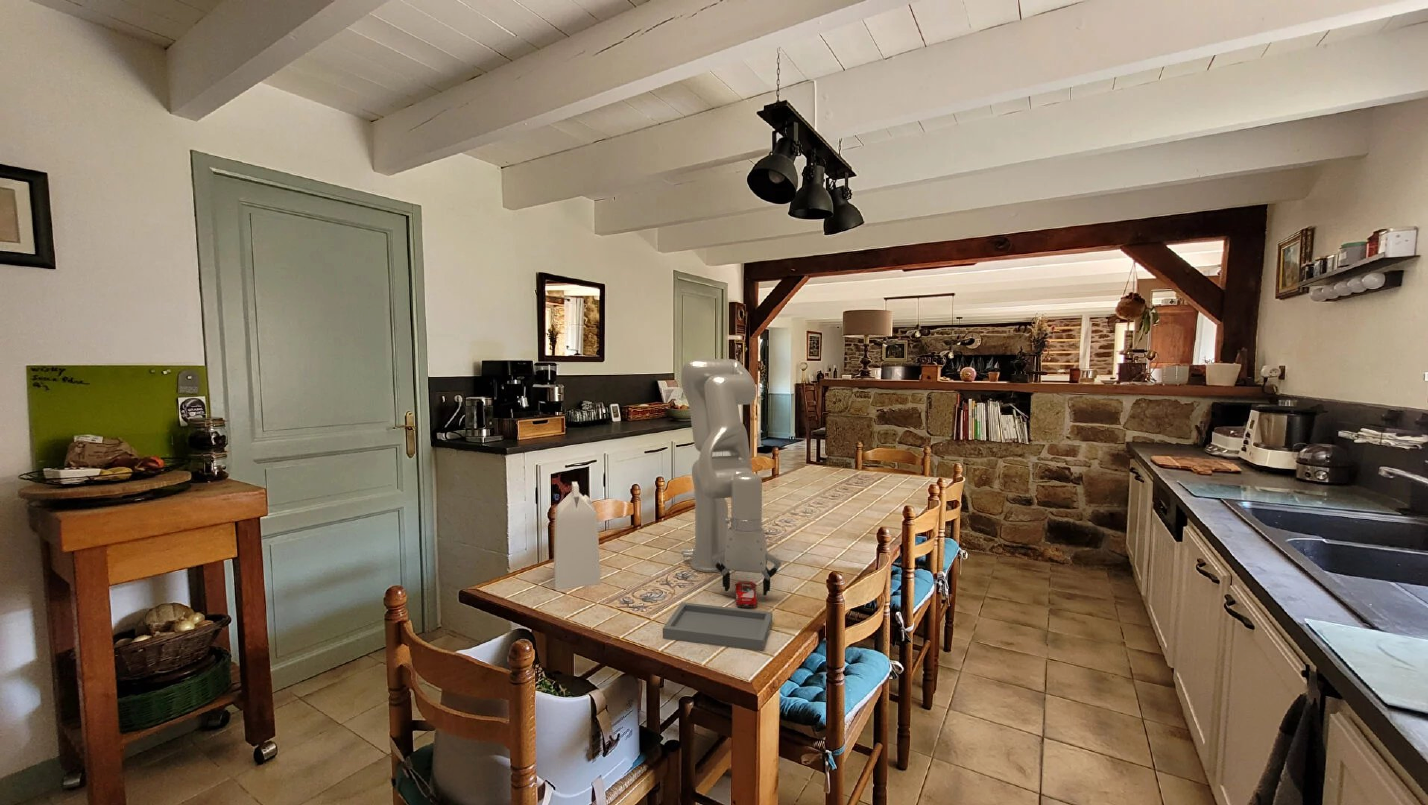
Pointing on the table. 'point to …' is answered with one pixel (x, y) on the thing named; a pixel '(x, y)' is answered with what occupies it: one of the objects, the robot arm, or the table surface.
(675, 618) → the tray
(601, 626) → the table surface
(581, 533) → the milk
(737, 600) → the race car
